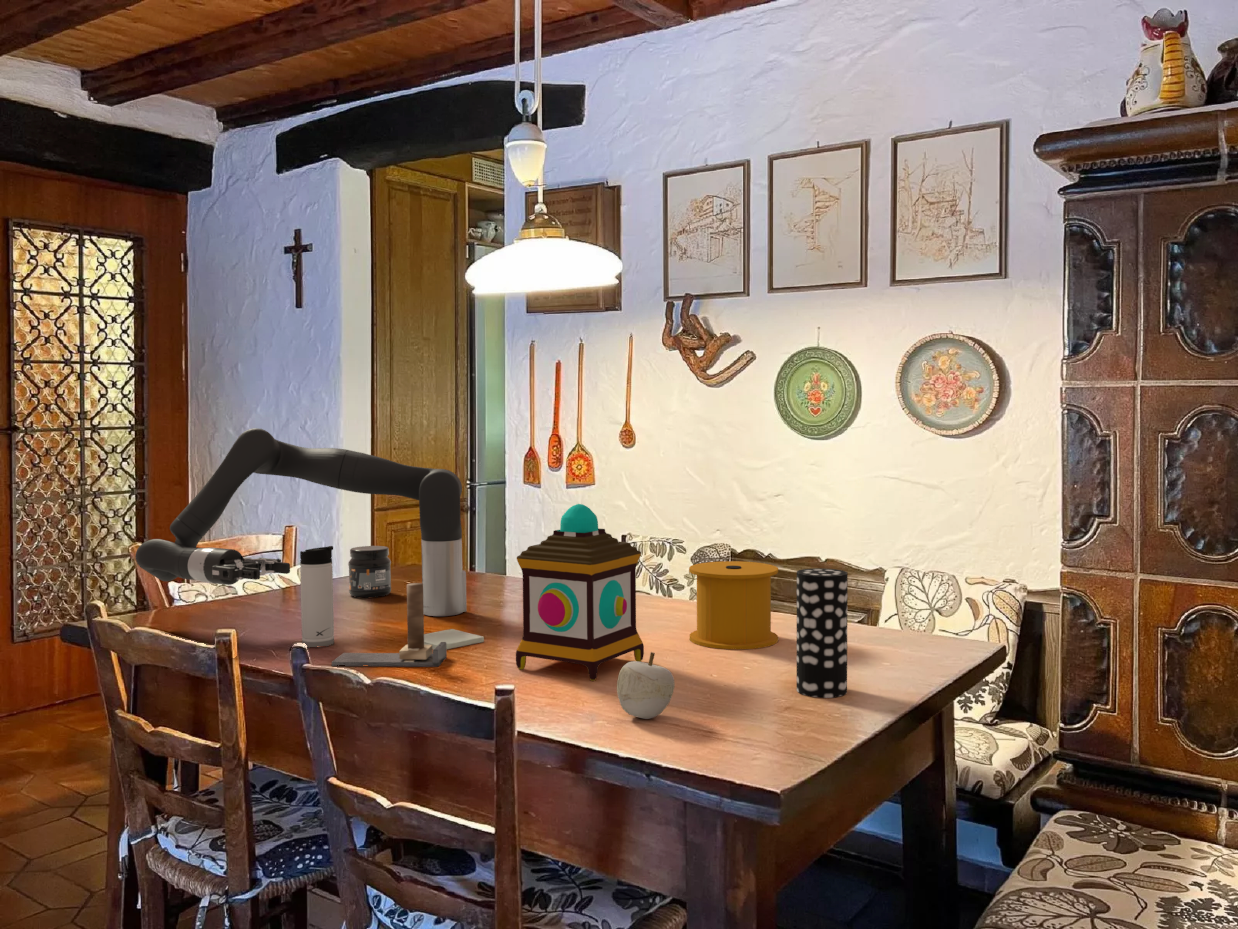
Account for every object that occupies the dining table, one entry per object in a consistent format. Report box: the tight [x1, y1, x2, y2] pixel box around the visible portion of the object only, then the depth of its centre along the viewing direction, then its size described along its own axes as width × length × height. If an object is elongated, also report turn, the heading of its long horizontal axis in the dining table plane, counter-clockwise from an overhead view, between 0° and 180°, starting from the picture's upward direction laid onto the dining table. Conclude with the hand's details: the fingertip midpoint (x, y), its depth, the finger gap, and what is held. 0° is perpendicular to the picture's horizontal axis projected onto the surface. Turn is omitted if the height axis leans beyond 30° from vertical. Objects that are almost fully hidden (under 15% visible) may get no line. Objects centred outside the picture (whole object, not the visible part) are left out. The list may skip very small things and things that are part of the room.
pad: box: [424, 628, 485, 650], centre depth 214 cm, size 11×11×1 cm
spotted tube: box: [796, 567, 849, 699], centre depth 175 cm, size 8×8×20 cm
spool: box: [688, 560, 779, 650], centre depth 214 cm, size 18×18×15 cm
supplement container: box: [347, 545, 392, 599], centre depth 267 cm, size 10×10×12 cm
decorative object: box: [616, 651, 675, 720], centre depth 161 cm, size 9×9×10 cm
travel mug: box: [299, 545, 335, 648], centre depth 212 cm, size 6×7×20 cm
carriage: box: [398, 582, 433, 659], centre depth 197 cm, size 5×5×14 cm
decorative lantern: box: [515, 503, 645, 682], centre depth 193 cm, size 20×20×30 cm
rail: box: [331, 642, 448, 668], centre depth 198 cm, size 20×7×3 cm, turn 87°
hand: (274, 571), depth 216 cm, fingers open, 8 cm apart
